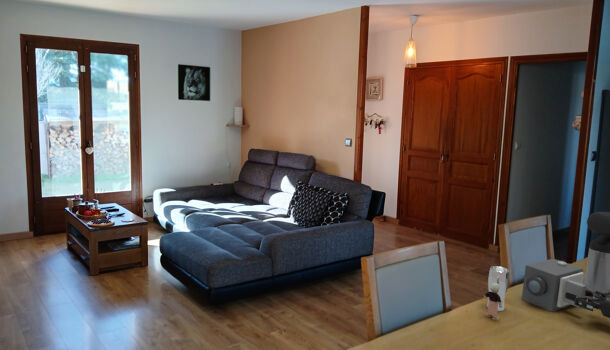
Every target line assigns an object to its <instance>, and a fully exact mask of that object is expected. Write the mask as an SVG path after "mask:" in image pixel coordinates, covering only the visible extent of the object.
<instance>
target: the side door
mask: <svg viewBox="0 0 610 350" xmlns="http://www.w3.org/2000/svg"><path fill="white" fill-rule="evenodd" d="M584 280H585V272H584V271H583V272H580V273H577V274H573V275H569V276H566V277H562V278H561V279H560V286H559V294H558V301H557V307H562V306H565V305H568V304H571V305H570V306H575V307H577V308H578V309H580V308H582V307H579V306H576V305H574V303H575V302H574V301H572V300H569V299H566V298H565V294H566V293H567V292H569V293H571V294H574V295H577V296H581V297H584V296H585V291H586V290H587V289H586V285H584ZM582 300H583V299H582ZM580 302H581V301H580ZM581 305H582V304H581Z"/></svg>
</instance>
